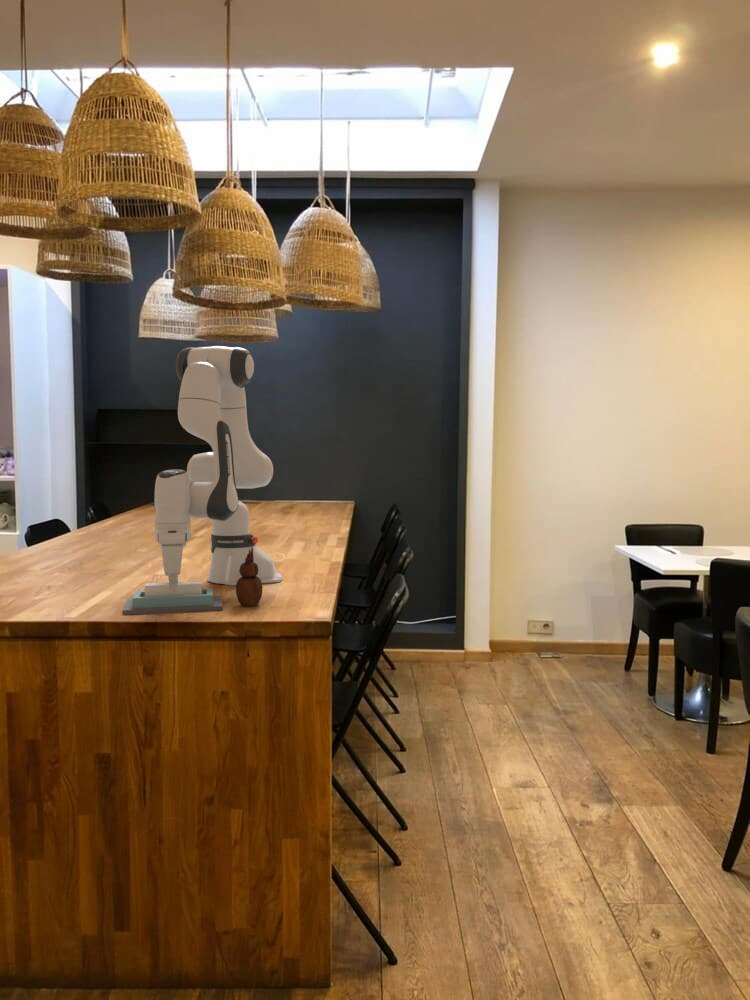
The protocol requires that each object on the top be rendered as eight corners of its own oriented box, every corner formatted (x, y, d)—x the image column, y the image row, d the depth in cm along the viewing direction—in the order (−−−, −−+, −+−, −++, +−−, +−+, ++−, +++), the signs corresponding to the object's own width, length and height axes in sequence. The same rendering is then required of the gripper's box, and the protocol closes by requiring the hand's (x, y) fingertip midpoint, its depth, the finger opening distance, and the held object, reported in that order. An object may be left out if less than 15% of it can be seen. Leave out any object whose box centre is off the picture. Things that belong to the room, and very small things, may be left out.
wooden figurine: (251, 601, 202) (251, 545, 201) (266, 604, 199) (266, 547, 197) (231, 605, 197) (231, 548, 196) (246, 608, 193) (246, 550, 192)
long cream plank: (201, 600, 199) (201, 581, 198) (202, 602, 195) (201, 583, 195) (145, 602, 195) (145, 583, 195) (145, 605, 192) (144, 585, 192)
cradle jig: (220, 599, 204) (220, 586, 204) (222, 610, 192) (222, 596, 192) (127, 603, 199) (127, 589, 199) (122, 614, 186) (122, 600, 186)
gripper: (161, 528, 203) (162, 579, 204) (158, 538, 183) (159, 595, 185) (186, 528, 205) (186, 579, 206) (185, 538, 185) (185, 594, 186)
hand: (173, 586), depth 195 cm, fingers open, 8 cm apart
